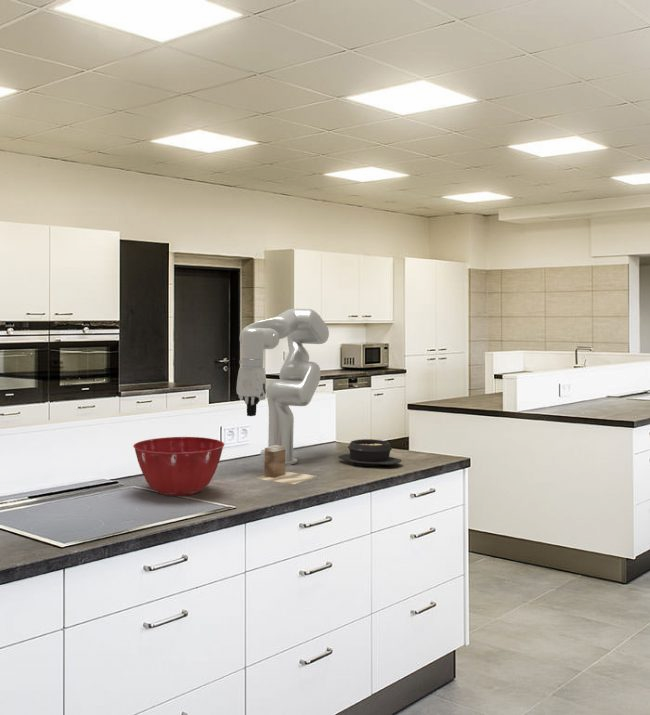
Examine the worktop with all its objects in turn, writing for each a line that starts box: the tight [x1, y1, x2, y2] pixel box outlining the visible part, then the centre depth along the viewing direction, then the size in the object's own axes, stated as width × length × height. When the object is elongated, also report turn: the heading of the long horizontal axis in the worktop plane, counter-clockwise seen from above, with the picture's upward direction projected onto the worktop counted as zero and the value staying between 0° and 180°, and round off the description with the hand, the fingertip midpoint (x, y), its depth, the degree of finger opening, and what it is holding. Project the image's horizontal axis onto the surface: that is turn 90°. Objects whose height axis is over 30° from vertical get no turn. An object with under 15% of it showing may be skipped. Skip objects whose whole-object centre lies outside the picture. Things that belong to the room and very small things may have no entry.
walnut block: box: [263, 445, 286, 478], centre depth 287 cm, size 4×7×10 cm, turn 150°
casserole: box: [338, 438, 402, 467], centre depth 315 cm, size 25×19×8 cm
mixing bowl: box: [132, 436, 225, 497], centre depth 262 cm, size 28×28×16 cm
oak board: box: [254, 471, 318, 485], centre depth 285 cm, size 16×16×1 cm
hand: (251, 415), depth 290 cm, fingers closed
